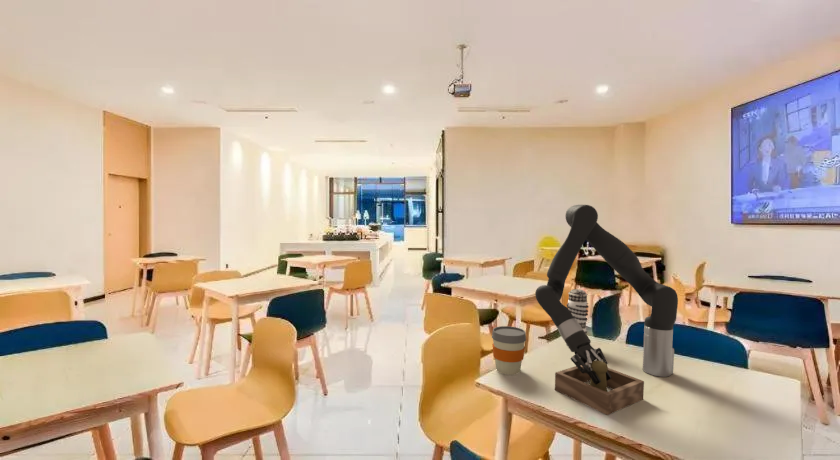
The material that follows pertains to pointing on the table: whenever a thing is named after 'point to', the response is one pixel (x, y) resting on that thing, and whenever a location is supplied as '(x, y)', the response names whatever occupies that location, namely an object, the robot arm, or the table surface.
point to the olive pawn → (600, 375)
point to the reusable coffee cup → (508, 349)
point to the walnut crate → (606, 402)
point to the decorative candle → (578, 306)
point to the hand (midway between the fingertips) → (603, 381)
